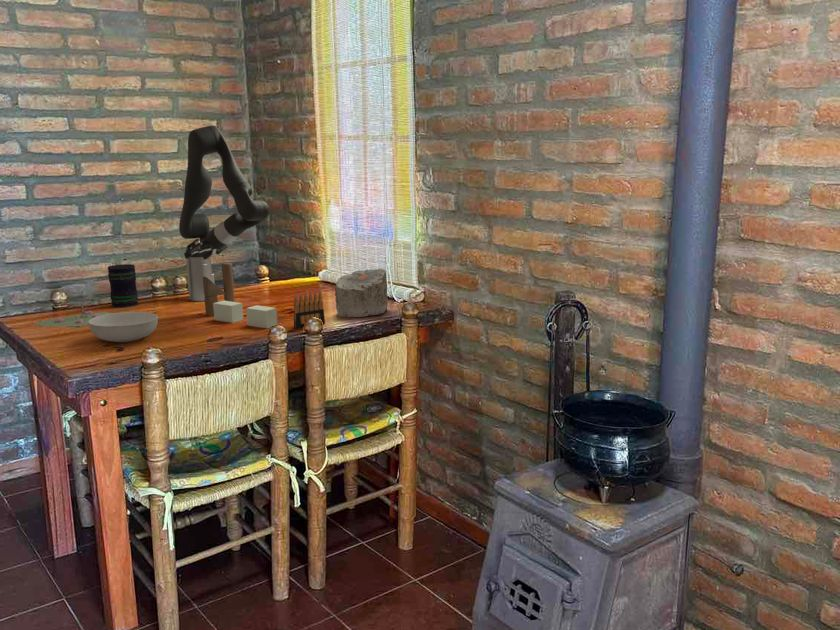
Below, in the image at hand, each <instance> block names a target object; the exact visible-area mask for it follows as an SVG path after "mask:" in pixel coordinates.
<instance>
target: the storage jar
mask: <svg viewBox="0 0 840 630" xmlns="http://www.w3.org/2000/svg"><path fill="white" fill-rule="evenodd" d="M123 261H127V258H123ZM107 273H108V274H107V277H108V281H109V286H110V293H109V294H110V302H111V307H112V308H117V309H118V308H123V309H124V308H131V307H135V306H138V305H139V299H138V298H139V295H138V289H137V283H136V280H137V274H136V266H135V264H130V263H129V264H114V265H109V266H108V267H107Z"/></svg>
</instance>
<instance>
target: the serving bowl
mask: <svg viewBox="0 0 840 630" xmlns="http://www.w3.org/2000/svg"><path fill="white" fill-rule="evenodd" d="M110 313H111V314H106V315H101V316H97V317H94V318H92V319H90V320H89V321H88V324H89V325H88V327H89V330H90V332H91V333H92V334H93V336H95V337H96V338H97V339H100V340H103V341H107V342H113V343H130V342H134V341H135V342H136V341H138V340H140V339H143V338H145V337H148V336H149V335H151V334H152V333H153V332H154V331H155V330H156V328H157V327H158V323H159V316H158V314H156V313H153V312H147V311H122V312H110Z"/></svg>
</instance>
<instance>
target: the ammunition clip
mask: <svg viewBox="0 0 840 630" xmlns="http://www.w3.org/2000/svg"><path fill="white" fill-rule="evenodd" d="M322 293H323V292H322V290H321V288H319V289H318V293H317V290H316V289H314V290H313V292H312V290H311V289H310V290H309V292H307V291H306V290H305V291H304V295H303V293H302V291H300V292H299V294H298V293H297V292H296V291H295V292H294V296H293V297H294V299H293V300H294V301H293V328H295V329H299V328H301V329H302V328H305V327H304V322H305V321H306V320H307V319H308V318H311V317H316V318H319V319H321V320H322V322H323V324H322V325H325V324H326V319H325V309H324V302H323V301H324V299H323V294H322Z"/></svg>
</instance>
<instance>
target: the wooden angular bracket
mask: <svg viewBox="0 0 840 630" xmlns="http://www.w3.org/2000/svg"><path fill="white" fill-rule="evenodd" d="M221 271H222V272H221V273H222V284H223V289H222V288H220V287H219V286H218V285H217V284H216V283H215V284H214V283H213V282H212V281H211V280H210V279H208V278H207V277H204V276H203V286H204V295H205V296H204V297H205V301H204V308H205V315H206V316H208V317H214V307H213V303H216V302H219V299H218V296H223V298H224V300H223V301H231V302H236V300H235V289H234V288H235V287H234V275H233V274H234V273H233V271H234V270H233V264H232V262H223V263H222V264H221Z"/></svg>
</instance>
